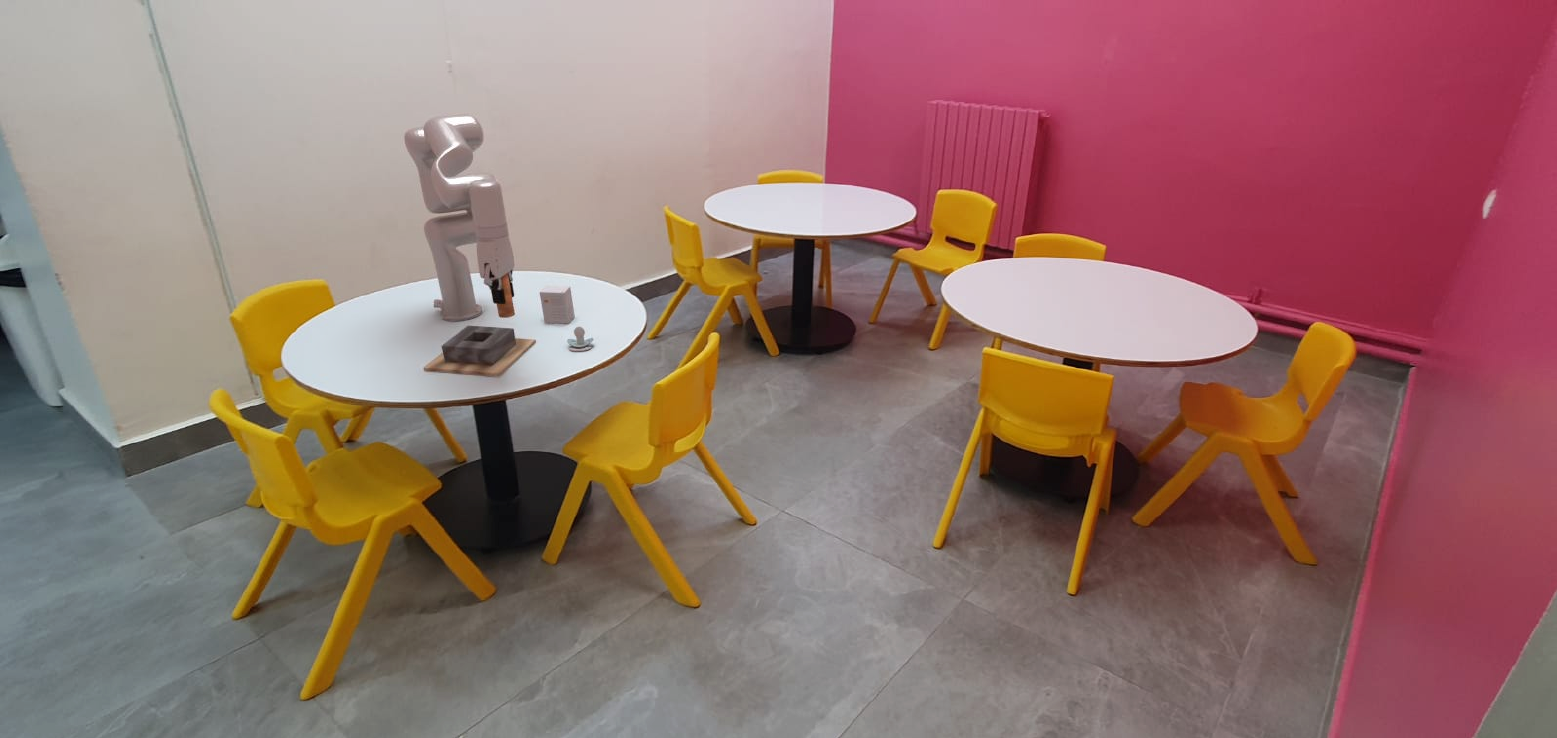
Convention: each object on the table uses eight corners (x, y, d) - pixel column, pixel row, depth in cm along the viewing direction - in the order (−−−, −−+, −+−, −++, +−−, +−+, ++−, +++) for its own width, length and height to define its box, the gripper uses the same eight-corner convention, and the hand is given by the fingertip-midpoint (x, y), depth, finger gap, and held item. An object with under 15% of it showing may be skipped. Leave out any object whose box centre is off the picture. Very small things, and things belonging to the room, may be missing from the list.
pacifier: (592, 352, 212) (594, 343, 218) (589, 332, 209) (592, 323, 215) (566, 353, 212) (569, 344, 217) (563, 333, 209) (566, 324, 214)
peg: (495, 317, 192) (487, 273, 186) (503, 311, 195) (495, 268, 190) (510, 318, 191) (502, 274, 186) (517, 312, 195) (510, 269, 189)
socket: (424, 370, 201) (419, 350, 198) (466, 337, 221) (462, 319, 218) (500, 376, 198) (496, 356, 196) (536, 342, 218) (533, 323, 215)
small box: (575, 317, 235) (571, 286, 230) (569, 324, 230) (564, 292, 225) (550, 316, 235) (546, 285, 231) (544, 323, 231) (539, 291, 226)
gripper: (494, 221, 191) (505, 287, 199) (460, 240, 176) (474, 311, 185) (521, 222, 190) (532, 289, 198) (489, 241, 175) (502, 313, 184)
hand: (503, 299), depth 191 cm, fingers closed on peg, 4 cm apart
